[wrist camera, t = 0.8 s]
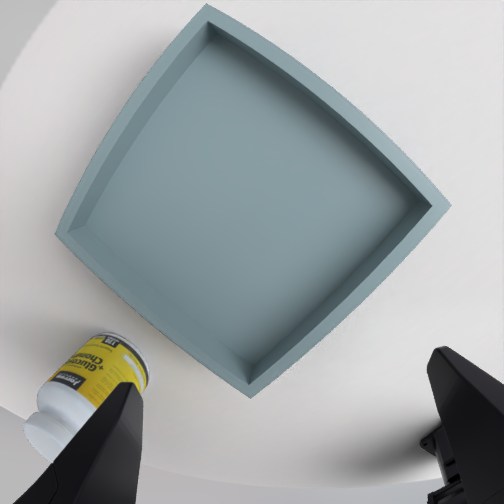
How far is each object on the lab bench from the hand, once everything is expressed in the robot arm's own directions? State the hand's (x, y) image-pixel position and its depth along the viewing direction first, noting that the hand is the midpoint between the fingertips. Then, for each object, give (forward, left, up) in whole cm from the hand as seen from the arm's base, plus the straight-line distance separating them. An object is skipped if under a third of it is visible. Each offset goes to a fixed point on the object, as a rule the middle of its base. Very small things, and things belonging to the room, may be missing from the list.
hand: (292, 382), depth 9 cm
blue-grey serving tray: (+5, 0, -13) cm, 14 cm away
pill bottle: (+5, +18, -13) cm, 23 cm away
